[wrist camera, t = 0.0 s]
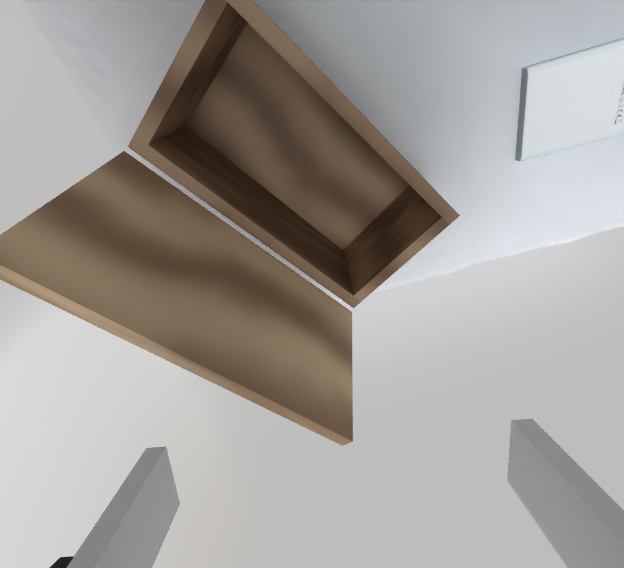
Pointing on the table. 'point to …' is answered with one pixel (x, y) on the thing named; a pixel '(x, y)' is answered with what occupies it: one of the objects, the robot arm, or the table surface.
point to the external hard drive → (571, 101)
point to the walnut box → (286, 154)
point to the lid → (188, 293)
